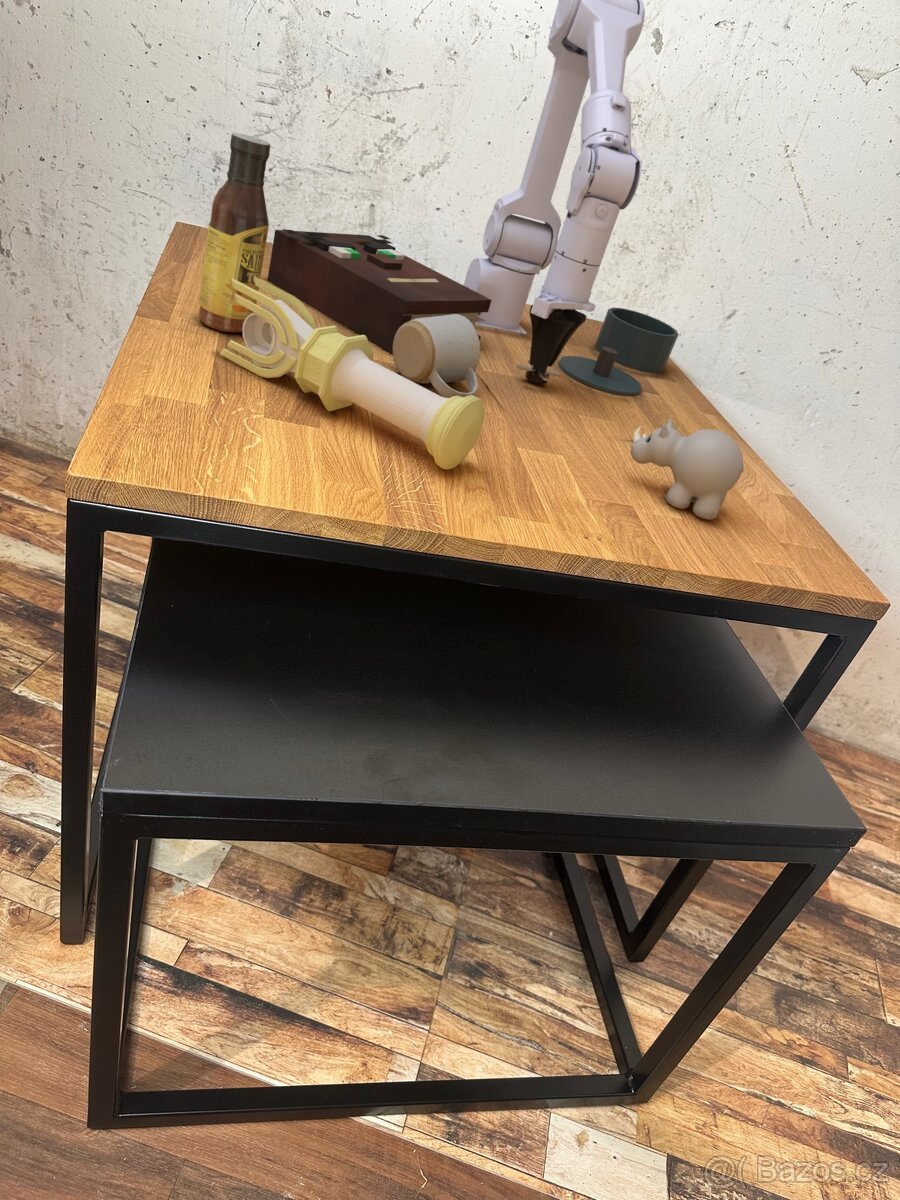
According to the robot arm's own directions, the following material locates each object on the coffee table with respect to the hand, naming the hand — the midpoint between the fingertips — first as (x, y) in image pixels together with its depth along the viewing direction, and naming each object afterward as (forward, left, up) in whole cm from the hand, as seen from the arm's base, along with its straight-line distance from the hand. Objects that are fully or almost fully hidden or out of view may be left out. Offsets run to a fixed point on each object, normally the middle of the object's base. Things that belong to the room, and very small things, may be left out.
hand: (540, 365), depth 111 cm
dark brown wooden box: (-18, +18, -3) cm, 26 cm away
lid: (+13, +7, -2) cm, 15 cm away
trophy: (-29, -17, -3) cm, 34 cm away
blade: (0, 0, -2) cm, 2 cm away
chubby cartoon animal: (+6, -27, -3) cm, 28 cm away
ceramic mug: (-15, -5, -3) cm, 16 cm away
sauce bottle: (-39, +3, -3) cm, 39 cm away
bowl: (+24, +19, -3) cm, 31 cm away
